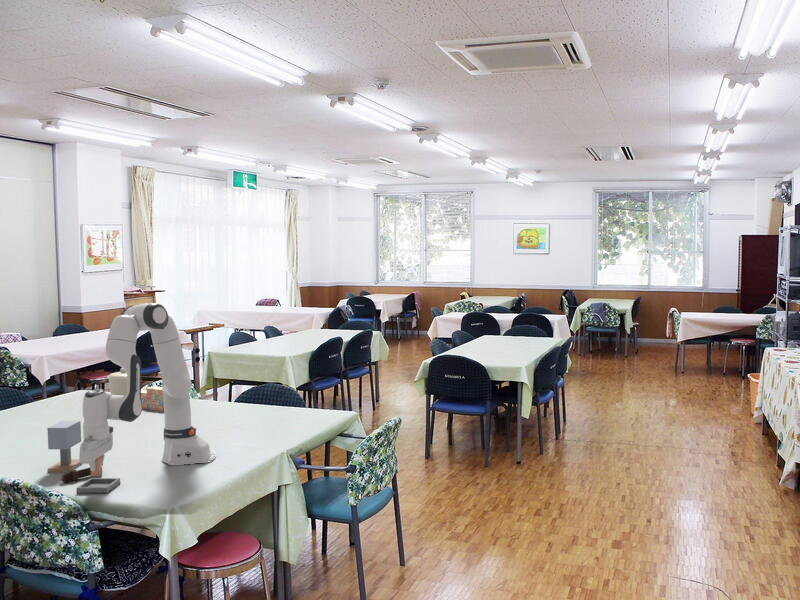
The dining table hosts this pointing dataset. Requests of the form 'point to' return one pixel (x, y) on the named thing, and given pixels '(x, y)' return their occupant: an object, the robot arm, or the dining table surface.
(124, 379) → the canister
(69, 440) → the mounted unit
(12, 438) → the dining table surface
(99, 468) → the peach rounded cylinder
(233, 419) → the dining table surface
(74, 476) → the bolt
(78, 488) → the parts tray
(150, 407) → the stack of blocks
